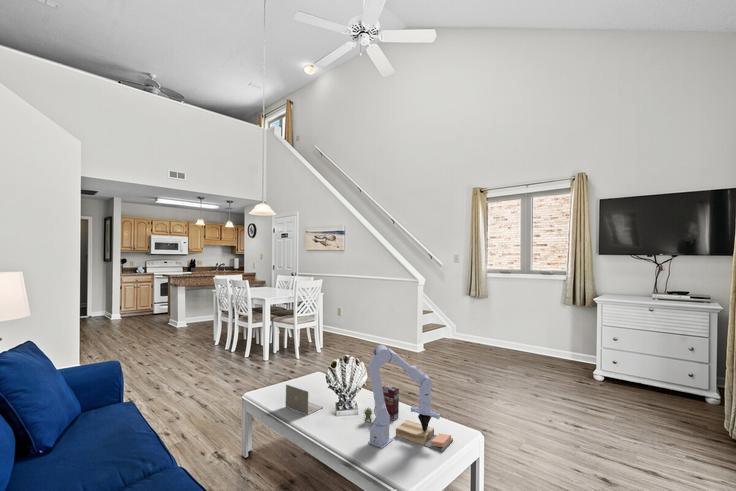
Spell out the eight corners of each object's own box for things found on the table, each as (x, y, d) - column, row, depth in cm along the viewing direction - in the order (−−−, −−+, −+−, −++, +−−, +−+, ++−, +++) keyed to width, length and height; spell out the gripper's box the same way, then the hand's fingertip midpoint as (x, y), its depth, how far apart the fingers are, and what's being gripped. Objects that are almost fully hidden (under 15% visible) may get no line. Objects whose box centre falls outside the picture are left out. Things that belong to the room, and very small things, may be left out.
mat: (442, 452, 164) (442, 449, 164) (424, 445, 170) (424, 443, 170) (452, 441, 174) (453, 438, 174) (434, 435, 179) (435, 432, 179)
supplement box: (380, 416, 200) (381, 386, 200) (386, 413, 203) (386, 384, 204) (393, 421, 194) (394, 390, 194) (399, 418, 198) (399, 388, 198)
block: (431, 441, 169) (431, 445, 169) (443, 443, 166) (443, 447, 166) (439, 433, 177) (439, 437, 176) (450, 435, 173) (451, 439, 173)
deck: (423, 445, 170) (423, 437, 170) (395, 435, 179) (395, 428, 179) (433, 435, 179) (434, 428, 179) (406, 427, 188) (406, 420, 188)
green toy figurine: (366, 415, 201) (366, 401, 201) (384, 421, 193) (384, 407, 193) (351, 423, 191) (352, 408, 192) (369, 430, 184) (369, 415, 184)
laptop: (323, 408, 210) (323, 385, 210) (307, 416, 200) (308, 391, 200) (301, 400, 221) (301, 378, 221) (285, 407, 210) (285, 384, 211)
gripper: (442, 402, 175) (442, 431, 175) (415, 395, 184) (415, 422, 183) (436, 407, 170) (436, 437, 169) (408, 399, 178) (408, 428, 178)
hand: (424, 430), depth 176 cm, fingers closed
